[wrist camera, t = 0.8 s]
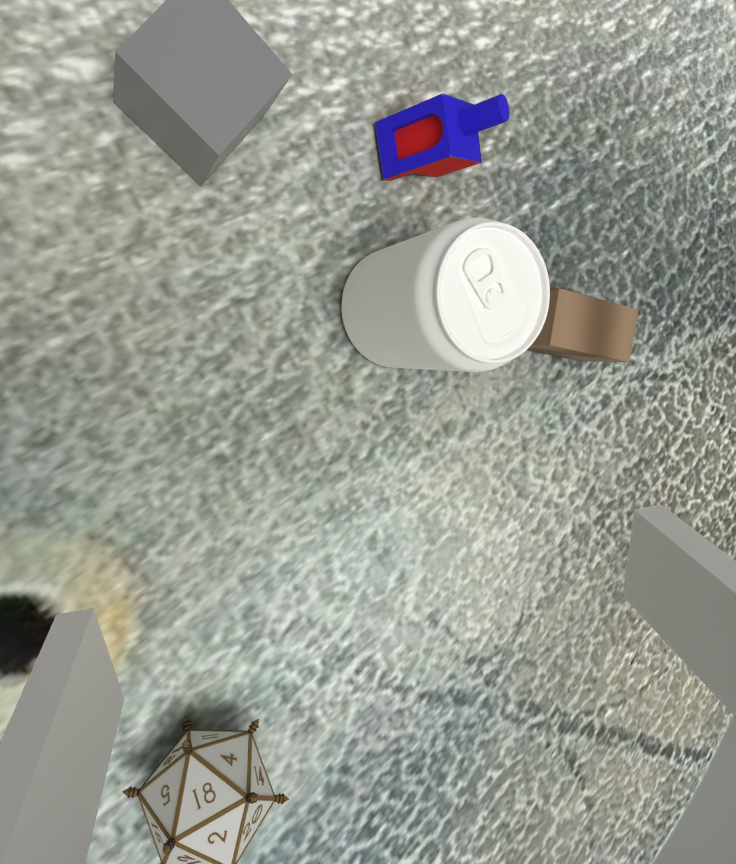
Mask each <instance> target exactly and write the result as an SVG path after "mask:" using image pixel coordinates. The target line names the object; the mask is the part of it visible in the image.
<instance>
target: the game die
mask: <svg viewBox="0 0 736 864" xmlns="http://www.w3.org/2000/svg"><path fill="white" fill-rule="evenodd" d="M190 722H191V721H189V720H187V719H186V718H185V717H184V721H183V724H182V726H183V727H184V728H183V729H185V731H186V733H185V734H184V735H183V736H182V737H181V739H180V740H179V741H178V742H177V744H176V745H175V746H174V747H173V749H172V750H171V751H170V752H169V753H168V755H167V756H166V757H165V758H164V760H163V761H162V762H161V763H160V764H159V766H158V767H157V768H156V769H155V771H154V772H153V773H152V774H151V776H150V777H149V778H148V779H147V780H146V782H145V783H144V784H143V785H142V787H141V788H140V789H137V788H135V787H134V788H132V787H131V786H130V788H128V789H126V790H124V791H123V793H124V794H125V795H127V796H128V798H129V797H132V798H133V797H134V796H138V797H139V800H140V803H141V806H142V809H143V811H144V814H145V817H146V820H147V823H148V826H149V829H150V832H151V834H152V837H153V840H154V843H155V846H156V849H157V852H158V855H159V857H160V860H161V864H237V863H238V861H239V859H240V858H241V856H242V854H243V853H244V851H245V849H246V848H247V846H248V844H249V843H250V841H251V839H252V838H253V836H254V834H255V833H256V831H257V829H258V828H259V826H260V824H261V823H262V821H263V819H264V818H265V816H266V815H267V813H268V811H269V810H270V808H271V806H272V805H273V803H274V802H277V803H278V804H279V803H282V804H283V803H284V802H285V801H287V800H289V799H288V798H287V797H286V796H285V795H284V794H281V795H280V794H279V795H275V794H274V792H273V789H272V786H271V784H270V781H269V778H268V775H267V773H266V770H265V767H264V765H263V762H262V759H261V757H260V754H259V751H258V748H257V746H256V743H255V740H254V738H253V735H252V734H253V732H254V731H256V729H257V728H259V726H258V724H259V719H257V720H255V721H253V722H251V725H249V730H248V731H232V730H192V729H191V726H192V725H191V724H190Z"/></svg>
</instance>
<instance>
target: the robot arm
mask: <svg viewBox="0 0 736 864" xmlns="http://www.w3.org/2000/svg"><path fill="white" fill-rule="evenodd" d="M623 597H624V598H625V599H626V600H627V601H628V602H629V603H630V604H631V605H632V606H633V608H634V609H635V610H636V611H637V612H638V613H639V614H640V615H641V616H642V617H643V618H644V619H645V620H646V621H647V623H648V624H649V625H650V626H651V627H652V628H653V629H654V630H655V631H656V632H657V633H658V634H659V635H660V637H661V638H662V639H663V640H664V641H665V642H666V643H667V644H668V645H669V646H670V647H671V648H672V649H673V651H674V652H675V653H676V654H677V655H678V656H679V657H680V658H681V659H682V660H683V661H684V662H685V663H686V664H687V666H688V667H689V668H690V669H691V670H692V671H693V672H694V673H695V674H696V675H697V676H698V677H699V678H700V680H701V681H702V682H703V683H704V684H705V685H706V686H707V687H708V688H709V689H710V690H711V691H712V692H713V694H714V695H715V696H716V697H717V698H718V699H719V700H720V701H721V702H722V703H723V704H724V705H725V706H726V708H727V709H728V710H729V711H730V712H731V713H732V714H733V715H734V716H735V717H736V561H735V560H734V559H732V558H731V557H730V556H728V555H727V554H726V553H724V552H723V551H722V550H720V549H719V548H718V547H716V546H715V545H714V544H712V543H711V542H710V541H708V540H707V539H706V538H705V537H703V536H702V535H701V534H699V533H698V532H697V531H695V530H694V529H693V528H691V527H690V526H689V525H687V524H686V523H685V522H683V521H682V520H681V519H679V518H678V517H677V516H675V515H674V514H673V513H671V512H670V511H669V510H668V509H666V508H665V507H664V506H662V505H657V506H652V507H646V508H641V509H635V510H634V515H633V523H632V530H631V537H630V545H629V552H628V560H627V567H626V575H625V582H624V589H623ZM123 701H124V697H123V694H122V691H121V688H120V685H119V682H118V679H117V677H116V674H115V671H114V668H113V665H112V662H111V659H110V656H109V653H108V650H107V647H106V644H105V641H104V638H103V635H102V632H101V629H100V626H99V624H98V621H97V618H96V615H95V612H94V609H93V608H92V609H86V610H81V611H75V612H70V613H64V614H59V615H56V617H55V619H54V622H53V624H52V626H51V628H50V631H49V633H48V635H47V637H46V640H45V642H44V644H43V647H42V649H41V651H40V653H39V656H38V658H37V660H36V662H35V665H34V667H33V669H32V671H31V674H30V676H29V678H28V681H27V683H26V685H25V687H24V690H23V692H22V694H21V696H20V699H19V701H18V703H17V705H16V708H15V710H14V712H13V715H12V717H11V719H10V721H9V724H8V726H7V728H6V730H5V733H4V735H3V737H2V739H1V742H0V864H85V862H86V858H87V854H88V849H89V845H90V841H91V837H92V832H93V828H94V824H95V820H96V815H97V811H98V807H99V803H100V798H101V794H102V790H103V786H104V781H105V777H106V773H107V769H108V765H109V760H110V756H111V752H112V748H113V743H114V739H115V735H116V731H117V726H118V722H119V718H120V714H121V709H122V705H123Z"/></svg>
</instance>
